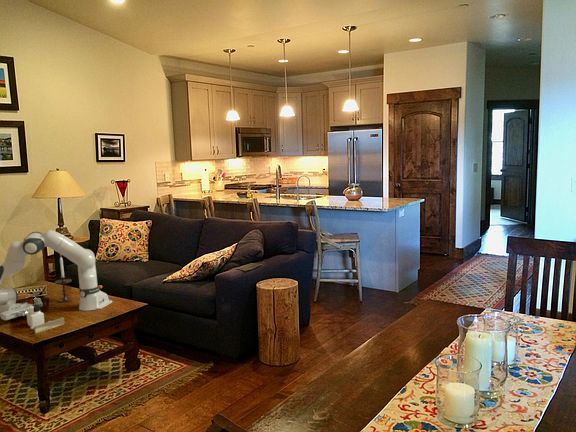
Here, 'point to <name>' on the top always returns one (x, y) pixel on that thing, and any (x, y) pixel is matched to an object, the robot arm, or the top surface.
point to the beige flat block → (48, 325)
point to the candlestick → (63, 283)
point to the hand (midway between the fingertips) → (25, 314)
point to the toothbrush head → (37, 301)
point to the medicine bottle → (35, 316)
